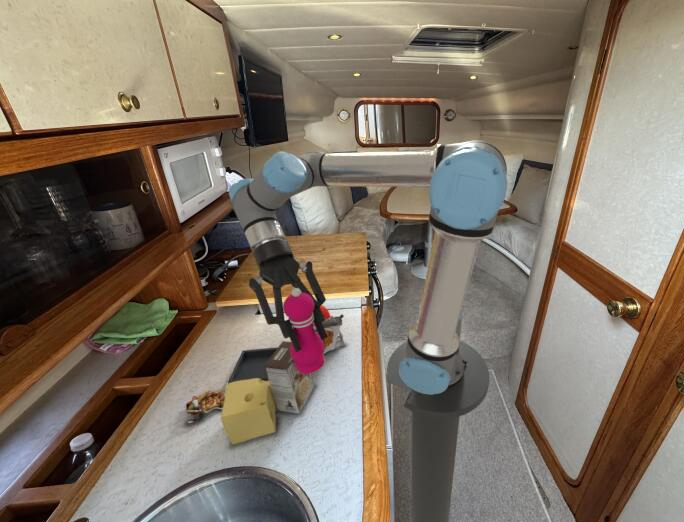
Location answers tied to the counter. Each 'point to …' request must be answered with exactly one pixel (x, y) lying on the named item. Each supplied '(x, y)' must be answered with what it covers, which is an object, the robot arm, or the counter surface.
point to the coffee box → (288, 380)
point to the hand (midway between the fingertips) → (312, 344)
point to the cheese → (248, 410)
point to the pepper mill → (304, 332)
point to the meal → (332, 333)
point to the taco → (205, 404)
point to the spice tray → (252, 365)
